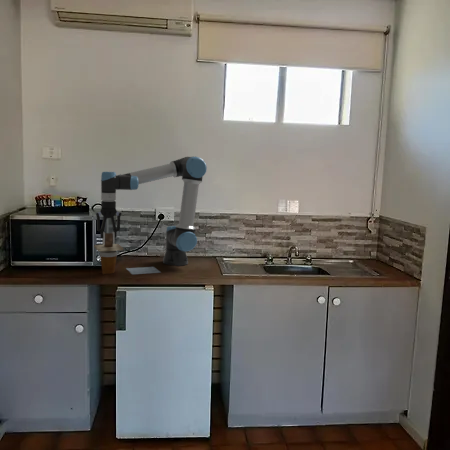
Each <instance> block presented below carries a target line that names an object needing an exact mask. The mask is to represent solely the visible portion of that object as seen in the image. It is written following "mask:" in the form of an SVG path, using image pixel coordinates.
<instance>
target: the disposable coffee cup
mask: <svg viewBox="0 0 450 450" xmlns="http://www.w3.org/2000/svg"><path fill="white" fill-rule="evenodd" d="M117 256H118V251H99V257H100V266H101V272H102V275H107V274H109V275H111V274H114V273H115V271H116V265H117Z"/></svg>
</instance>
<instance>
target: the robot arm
mask: <svg viewBox="0 0 450 450" xmlns="http://www.w3.org/2000/svg"><path fill="white" fill-rule="evenodd" d="M207 168H208V167H207V164H206V162H205V159H203V158H201V157H200V156H199V157H198V156H185V157H181V158H179V159H176V160H172V161H170V162H169V163H167V164H162V165H158V166H154V167H150V168H149V167H148V168H145V169H141V170H136V171H131V172H128V173H123V174H117V173H116V171H102V172H101V176H100V177H101V179H100V183H101V185H100V187H101V188H100V190H101V191H100V193H101V195H100V200H102V201H101V202H100V204H101V205H100V206H101V207H100V211H98V212H95V217H96V231H97V232H99V233H100V238H101V239H102V245H105V233H106V232H105V226H106V222H107V219H110V221H111V226H112V230H113V231H111V233H113V244H116V243H115V239H116V238H117V232H120V230H121V216H122V212H120V211H117V209H116V208H117V205H116V204H117V202H116V198H117V197H116V195H117V192H116V191H117V190H118V191H121V190H122V191H126V190H127V191H133V190H134V191H135V190H138V188H139V185H142V184H145V183H146V184H147V183H150V182H154V181H159V180H163V179H167V178H172V177H174V178H178V177H181V180H182V181H183V188H182V197H181V204H180V211H179V221H178V224H176V225H169V226H167V227H166V231H165V235H166V237H165V239H166V241H165V242H166V243H165V252H164V256H163V258H162V263H163V264H164V265H167V266H168V265H169V266H176V267H181V266H186V265H188V264H189V260H188V256H187V252H190V251H192V250H193V249H195V247H196V246H197V244H198V238H197V236H196V231H197V228H196V227H195V226H194V225H195V217H196V216H195V215H196V210H197V202H198V196H199V195H198V194H199V186H200V184H201V183H202V182H203V178H204V176H205V175H206V173H207ZM101 215H102V222H101ZM115 216H116V222H115Z"/></svg>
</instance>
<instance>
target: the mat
mask: <svg viewBox="0 0 450 450" xmlns="http://www.w3.org/2000/svg"><path fill="white" fill-rule="evenodd" d="M125 269H126V270H127V271H128V272H129V273H130V274H131V275H142V274H144V275H145V274H159V273H160V274H161V273H162V271H160V270H159V269H157V268H156V267H155V266H145V267H144V266H143V267H130V268H129V267H126V268H125Z"/></svg>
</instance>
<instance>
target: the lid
mask: <svg viewBox="0 0 450 450" xmlns="http://www.w3.org/2000/svg"><path fill="white" fill-rule="evenodd" d="M93 248H94V249H95V250H96V251H97V252H100V251H117V252H118V251H124V247H123V246H121V245H120V244H119V243H115V244H113V233H112V232H105V245H103V244H94V246H93Z"/></svg>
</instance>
